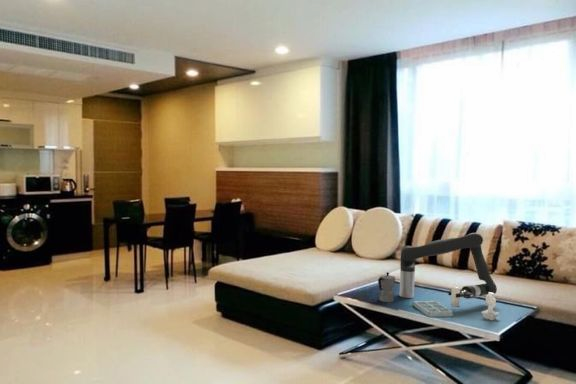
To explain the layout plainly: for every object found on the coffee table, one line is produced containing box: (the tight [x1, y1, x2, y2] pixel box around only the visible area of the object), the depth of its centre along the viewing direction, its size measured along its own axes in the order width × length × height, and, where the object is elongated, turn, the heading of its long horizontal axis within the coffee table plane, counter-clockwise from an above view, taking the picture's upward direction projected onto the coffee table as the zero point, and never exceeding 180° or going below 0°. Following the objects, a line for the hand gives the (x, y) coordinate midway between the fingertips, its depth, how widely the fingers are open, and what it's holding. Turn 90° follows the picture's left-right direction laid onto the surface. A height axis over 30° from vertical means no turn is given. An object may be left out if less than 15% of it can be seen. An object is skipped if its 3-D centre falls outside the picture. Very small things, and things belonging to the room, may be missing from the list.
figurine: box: [480, 292, 500, 321], centre depth 260 cm, size 7×9×15 cm
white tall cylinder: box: [450, 285, 461, 308], centre depth 273 cm, size 5×5×12 cm
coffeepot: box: [377, 271, 396, 303], centre depth 291 cm, size 15×9×18 cm, turn 129°
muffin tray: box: [412, 300, 454, 318], centre depth 273 cm, size 22×15×3 cm
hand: (452, 294), depth 272 cm, fingers closed on white tall cylinder, 4 cm apart
